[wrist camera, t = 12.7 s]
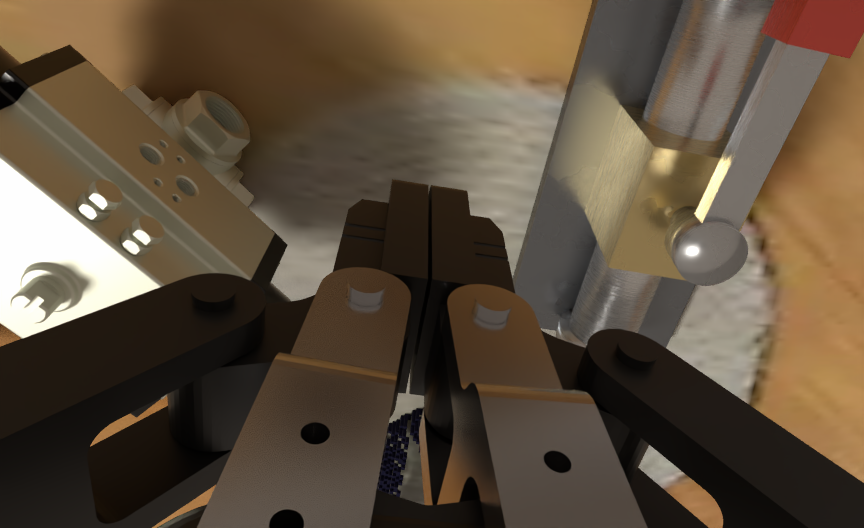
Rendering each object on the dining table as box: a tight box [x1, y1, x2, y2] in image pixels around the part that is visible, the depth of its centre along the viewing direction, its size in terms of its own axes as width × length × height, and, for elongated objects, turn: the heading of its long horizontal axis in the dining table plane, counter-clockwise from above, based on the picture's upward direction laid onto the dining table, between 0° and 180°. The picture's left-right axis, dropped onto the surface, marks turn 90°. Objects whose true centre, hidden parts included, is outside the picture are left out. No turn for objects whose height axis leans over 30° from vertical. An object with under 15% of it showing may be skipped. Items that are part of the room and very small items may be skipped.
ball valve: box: [0, 45, 291, 417], centre depth 32 cm, size 18×8×18 cm, turn 40°
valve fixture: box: [513, 0, 776, 348], centre depth 35 cm, size 12×26×10 cm, turn 170°
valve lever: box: [664, 0, 864, 286], centre depth 27 cm, size 16×3×2 cm, turn 169°
